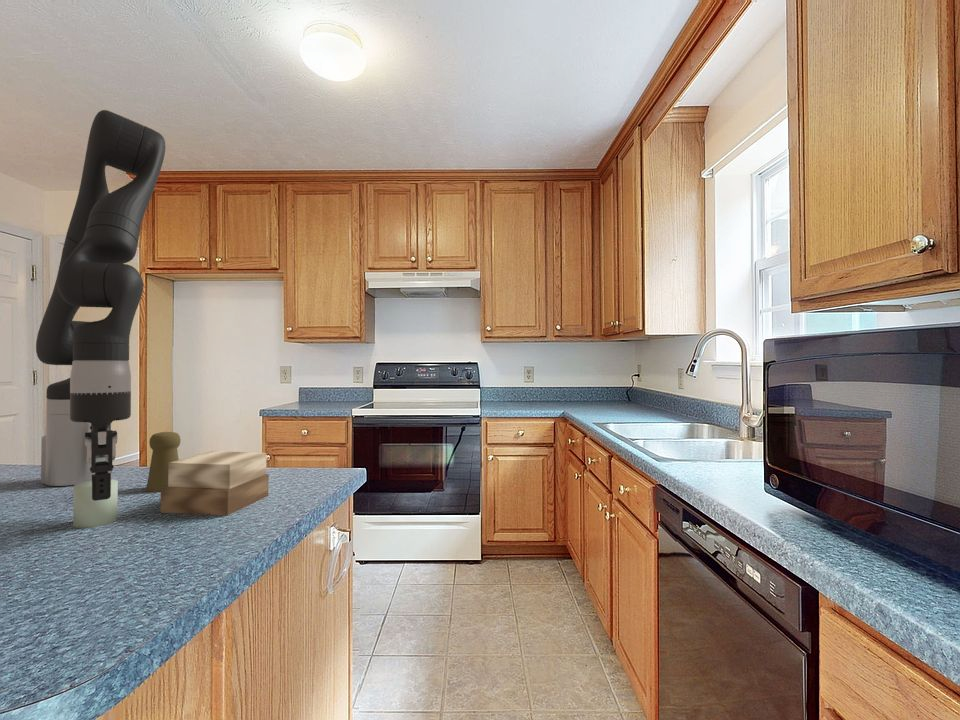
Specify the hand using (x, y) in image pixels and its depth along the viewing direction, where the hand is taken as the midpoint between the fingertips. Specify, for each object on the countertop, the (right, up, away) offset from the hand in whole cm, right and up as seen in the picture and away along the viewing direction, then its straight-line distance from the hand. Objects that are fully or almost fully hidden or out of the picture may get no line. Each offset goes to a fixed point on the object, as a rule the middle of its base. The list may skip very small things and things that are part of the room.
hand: (100, 493), depth 76 cm
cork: (-3, -5, +20) cm, 21 cm away
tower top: (+13, 0, +10) cm, 17 cm away
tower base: (+13, -5, +10) cm, 17 cm away
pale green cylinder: (-1, -4, 0) cm, 4 cm away
